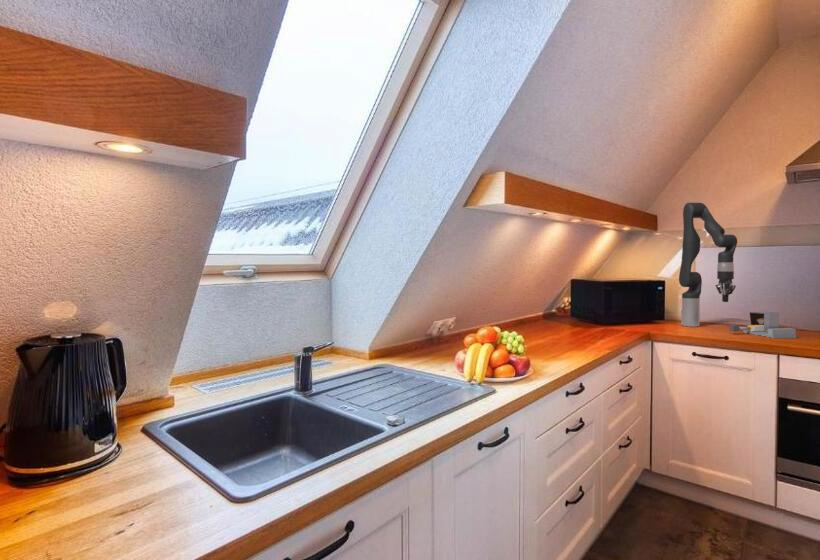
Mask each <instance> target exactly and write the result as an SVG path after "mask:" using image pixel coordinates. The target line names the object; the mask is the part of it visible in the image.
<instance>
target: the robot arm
mask: <svg viewBox="0 0 820 560" xmlns="http://www.w3.org/2000/svg"><path fill="white" fill-rule="evenodd" d="M682 209H683V212H682V221H683V223H682V224H683V232H682V234H683V238H682V246H681V247H682V248H681V249H682V251H681V252H682V253H681V263H680V270H679V275H678V282H679V285H680V286H681V287H684V288H688V289H687V290H686V291H685V292H683V293H682V294H681V310H680V311H681V313H680V314H681V315H680V316H681V317H680V318H681V320H680V321H681V322H680V324H681V326H682V325H683V327H690V328H691V327H692V328H695V327H696V328H697V326H698V327H700V309H701V307H700V306H701V305H700V302H701V301H700V300H701V299H700V297H701V293H702V285H703V284H702V283H703V282H702V275H701V273H699V272H698V271H692V266H693V262H695V260H696V259H697V257H698V255H699V253H700V252H701V237H700V235H699V233H698V232H697V231H696V227H695V225H694V219H701V220H702V221H703V222H704V225H703V226H704V230H705V232H706V233H708V234H709V236H711V239H712V243H714V245H715V246H716V247H717V248H724V250H723V251H720V252H718V255H717V270H716V271H717V272H716V274H717V276H716V278H717V280H718V283H717V284H715V288H716V290H717V292H718V294H719V295H721V297H722V299H721V301H722V303H728V302H729V296H730V295H732V294H733V292H734V291H735V289H736V285H734V284H733V280H734V279H735V271H734V270H735V264H734V256H735V251H736V248H737V245H738V238H737V237H736V235H734V234H725V232H726V230H725V228H723V226H721V225H720V223H719V222H718V221H716V219H715V218H714V216H713V214H712V212H710V209H708V206H707V205H705V204H704V203H703V202H686V203H685V204H684V207H683V208H682Z"/></svg>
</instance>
